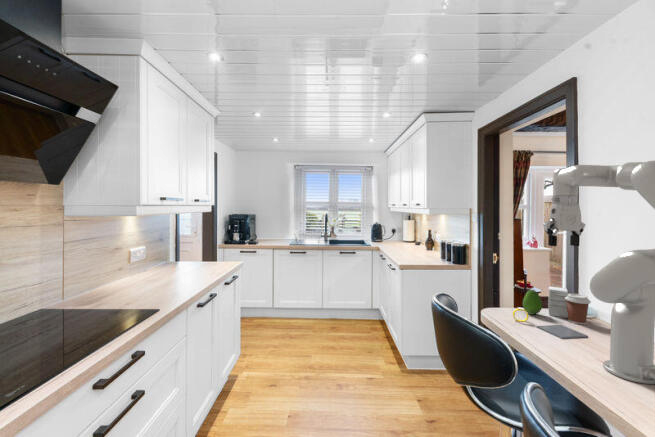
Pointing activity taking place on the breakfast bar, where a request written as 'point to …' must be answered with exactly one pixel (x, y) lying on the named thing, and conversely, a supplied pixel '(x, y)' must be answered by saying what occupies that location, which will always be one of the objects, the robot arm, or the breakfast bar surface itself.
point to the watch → (520, 310)
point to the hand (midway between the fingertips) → (563, 245)
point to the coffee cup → (577, 308)
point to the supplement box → (558, 301)
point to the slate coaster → (562, 331)
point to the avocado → (532, 302)
